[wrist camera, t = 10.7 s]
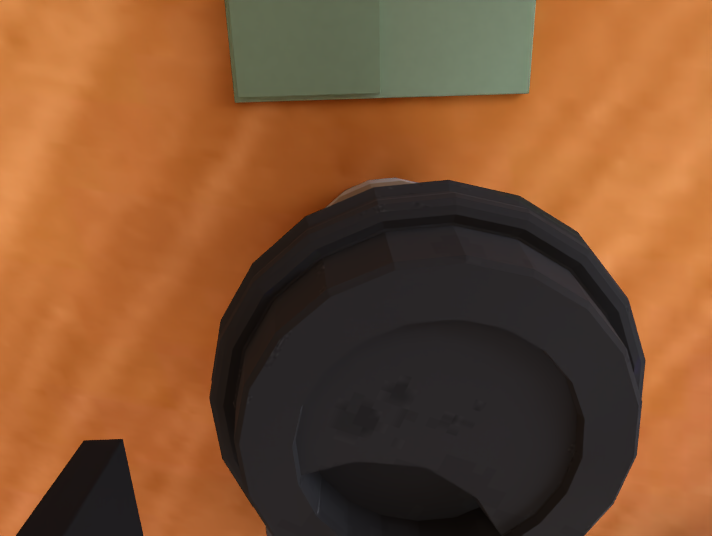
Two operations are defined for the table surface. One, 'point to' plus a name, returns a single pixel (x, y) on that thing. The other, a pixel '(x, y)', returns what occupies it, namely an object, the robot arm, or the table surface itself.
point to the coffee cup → (428, 370)
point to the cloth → (378, 48)
